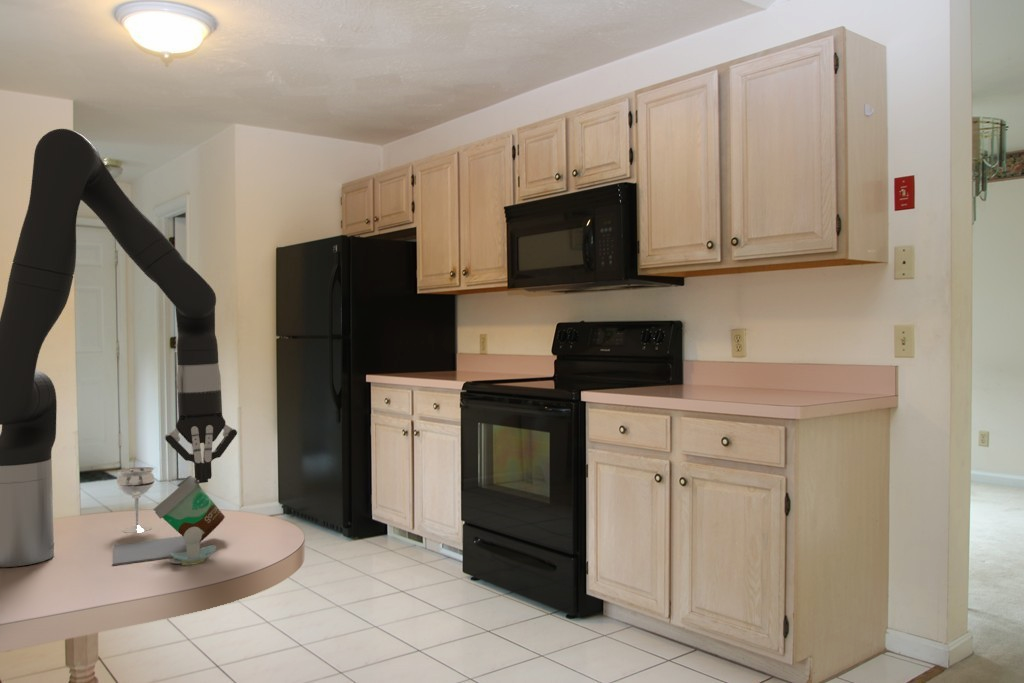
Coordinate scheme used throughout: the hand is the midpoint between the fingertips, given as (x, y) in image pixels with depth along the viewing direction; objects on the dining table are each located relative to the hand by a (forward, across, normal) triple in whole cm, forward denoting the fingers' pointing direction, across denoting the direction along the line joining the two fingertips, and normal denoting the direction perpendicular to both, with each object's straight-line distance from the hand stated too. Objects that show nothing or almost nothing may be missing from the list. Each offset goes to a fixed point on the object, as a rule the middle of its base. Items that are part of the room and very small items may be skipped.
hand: (203, 481), depth 144 cm
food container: (+8, +2, 0) cm, 9 cm away
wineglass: (+11, -11, +19) cm, 25 cm away
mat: (+11, -8, 0) cm, 14 cm away
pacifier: (+12, -3, -12) cm, 17 cm away
